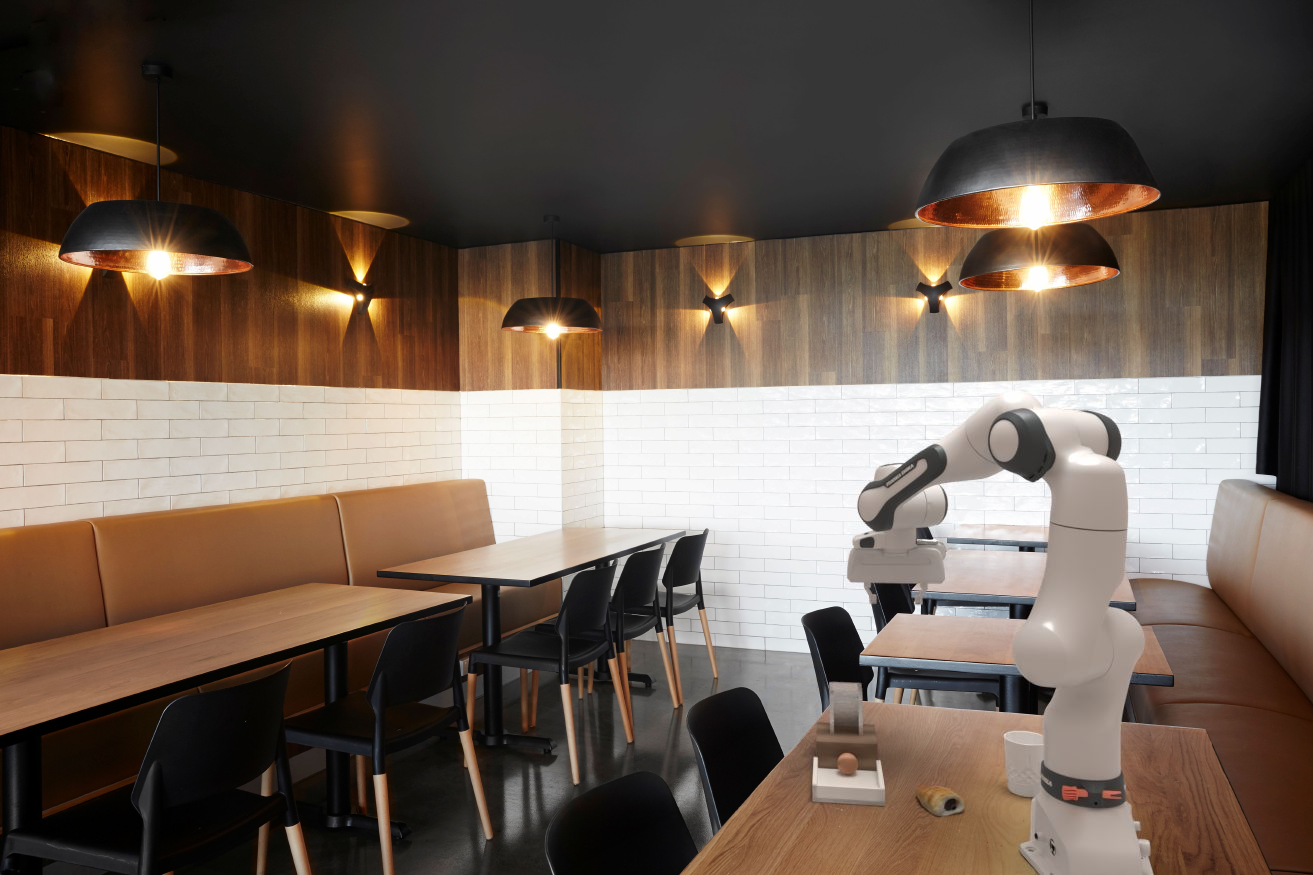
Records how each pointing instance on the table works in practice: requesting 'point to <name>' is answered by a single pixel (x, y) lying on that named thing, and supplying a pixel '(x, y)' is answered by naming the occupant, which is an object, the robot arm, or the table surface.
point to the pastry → (940, 800)
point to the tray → (848, 786)
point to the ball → (847, 763)
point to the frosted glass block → (846, 705)
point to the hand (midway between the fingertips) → (895, 603)
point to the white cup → (1023, 762)
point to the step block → (846, 745)
